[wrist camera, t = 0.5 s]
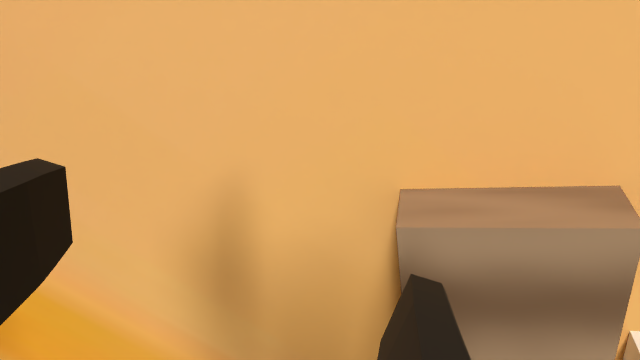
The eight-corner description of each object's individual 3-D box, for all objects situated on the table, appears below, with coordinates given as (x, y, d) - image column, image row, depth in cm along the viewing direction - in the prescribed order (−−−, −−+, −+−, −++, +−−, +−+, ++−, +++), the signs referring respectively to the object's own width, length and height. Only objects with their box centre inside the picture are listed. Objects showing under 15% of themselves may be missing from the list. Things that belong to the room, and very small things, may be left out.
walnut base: (587, 330, 22) (607, 387, 19) (410, 320, 24) (407, 372, 21) (616, 180, 18) (646, 228, 15) (401, 184, 20) (396, 227, 17)
